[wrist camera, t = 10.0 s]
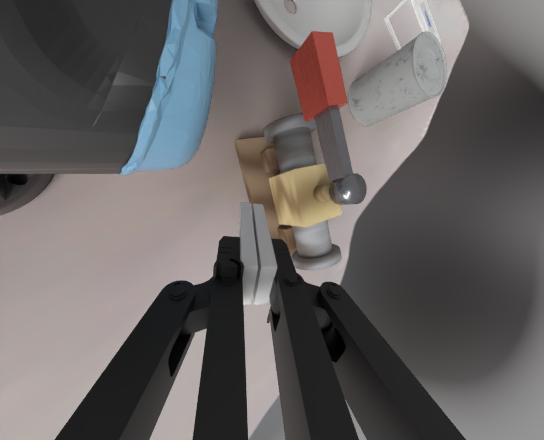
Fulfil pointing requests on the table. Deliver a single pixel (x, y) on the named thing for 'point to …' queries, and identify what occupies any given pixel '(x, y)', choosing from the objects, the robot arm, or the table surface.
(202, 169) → the table surface
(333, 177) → the lever
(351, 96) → the speckled concrete cylinder
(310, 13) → the sink basin
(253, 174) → the valve stand
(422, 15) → the photo frame
